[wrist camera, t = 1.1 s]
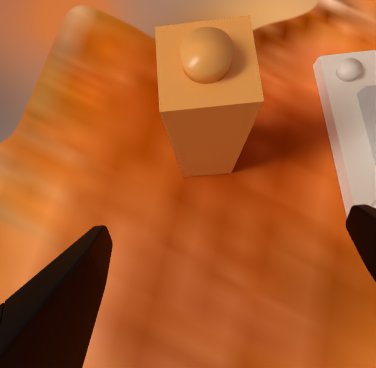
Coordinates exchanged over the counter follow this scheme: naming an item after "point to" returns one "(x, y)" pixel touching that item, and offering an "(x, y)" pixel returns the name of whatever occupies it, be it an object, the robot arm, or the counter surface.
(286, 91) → the counter surface
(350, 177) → the baseplate
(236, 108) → the column brick
